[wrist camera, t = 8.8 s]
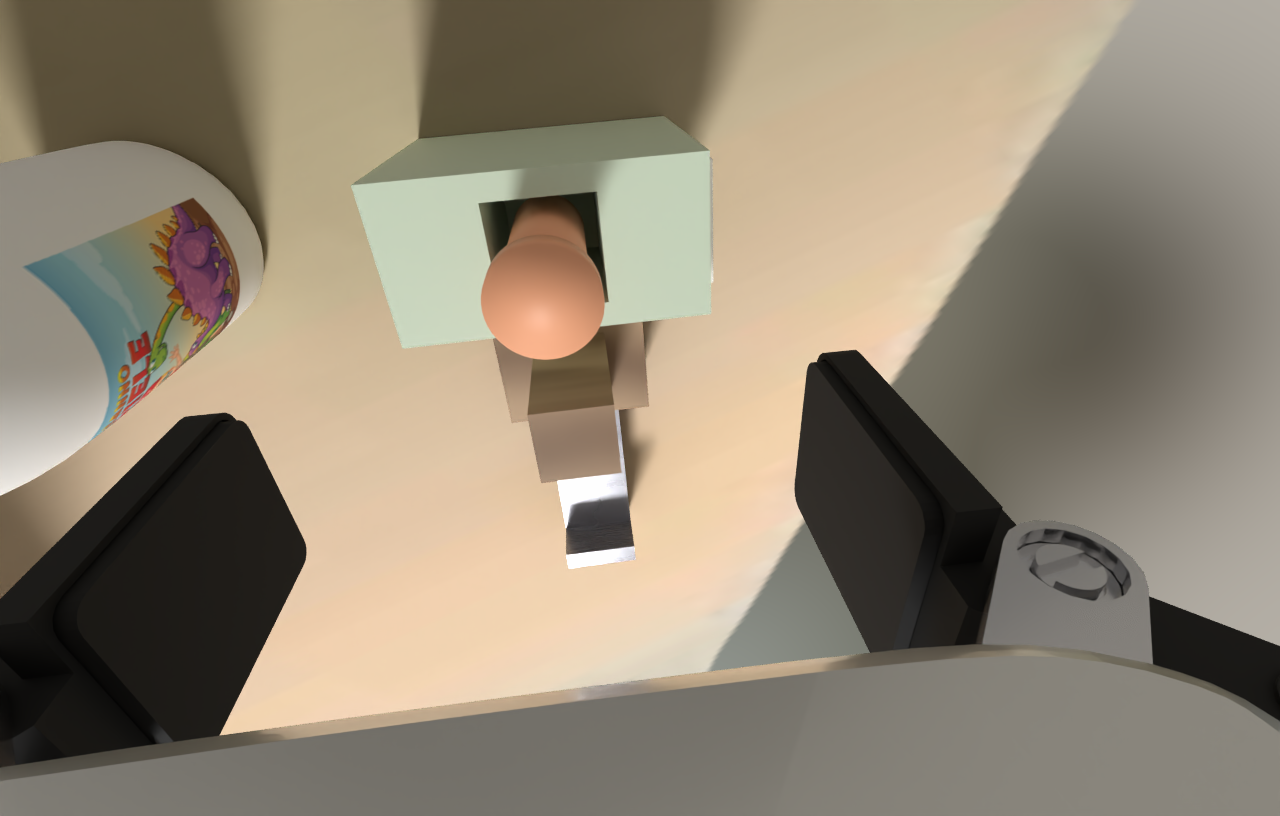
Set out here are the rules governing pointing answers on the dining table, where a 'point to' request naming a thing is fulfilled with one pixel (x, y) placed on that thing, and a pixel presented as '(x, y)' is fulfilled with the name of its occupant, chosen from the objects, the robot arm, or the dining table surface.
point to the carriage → (577, 400)
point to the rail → (597, 517)
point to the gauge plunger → (544, 283)
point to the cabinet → (538, 167)
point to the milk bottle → (107, 289)
